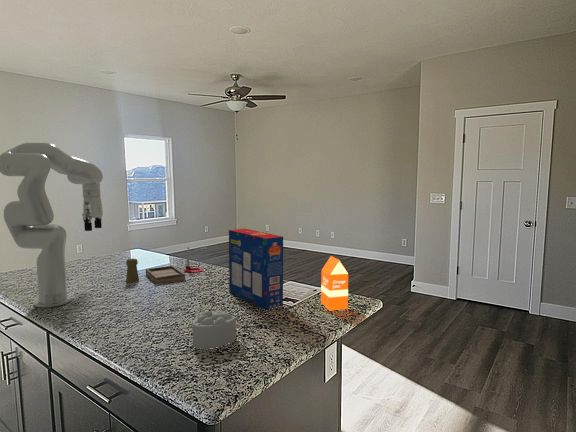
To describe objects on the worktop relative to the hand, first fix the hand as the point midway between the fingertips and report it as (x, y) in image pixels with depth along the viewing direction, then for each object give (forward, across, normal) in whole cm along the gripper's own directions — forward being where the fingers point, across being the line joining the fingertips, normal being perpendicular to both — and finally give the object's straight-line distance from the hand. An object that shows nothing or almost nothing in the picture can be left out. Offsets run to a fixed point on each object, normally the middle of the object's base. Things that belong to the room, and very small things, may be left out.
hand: (93, 229), depth 180 cm
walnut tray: (+25, +3, -33) cm, 41 cm away
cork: (+25, -4, -19) cm, 32 cm away
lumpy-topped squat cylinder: (+25, -71, -69) cm, 103 cm away
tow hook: (+25, +16, -45) cm, 54 cm away
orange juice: (+25, -43, -112) cm, 122 cm away
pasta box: (+25, -32, -80) cm, 90 cm away
